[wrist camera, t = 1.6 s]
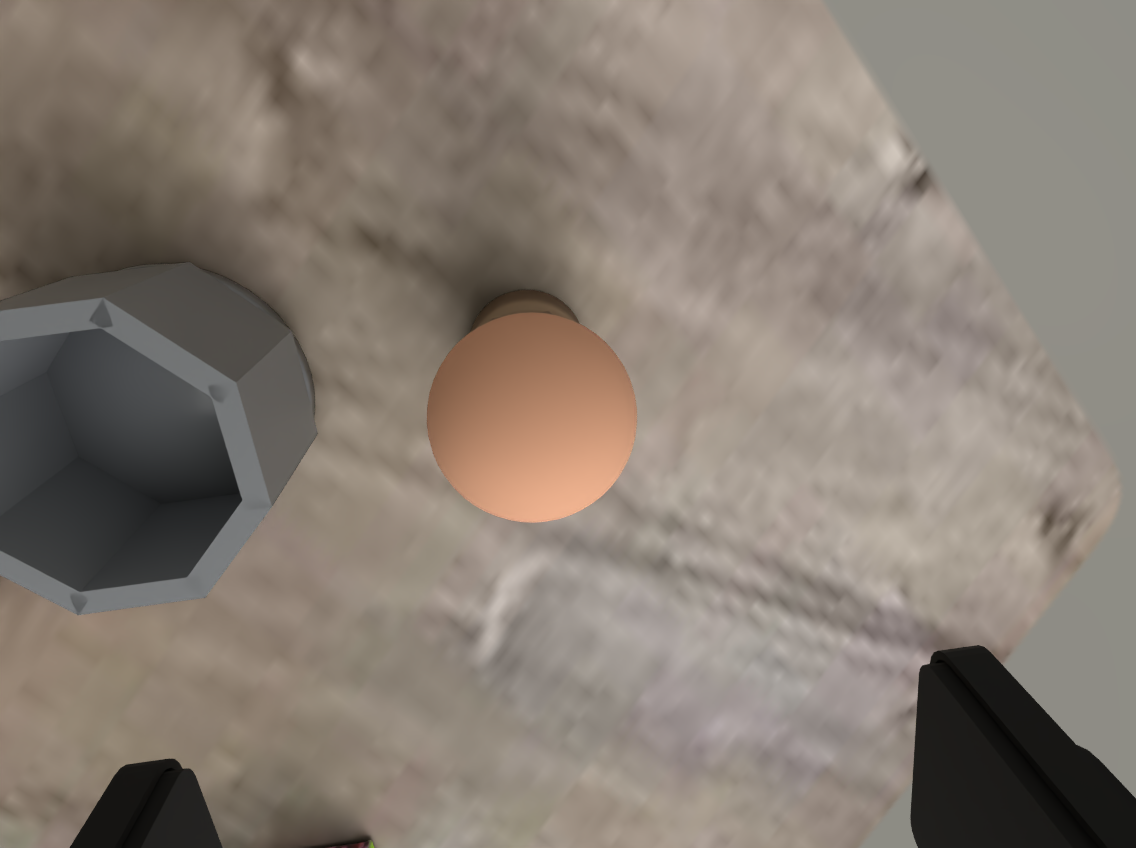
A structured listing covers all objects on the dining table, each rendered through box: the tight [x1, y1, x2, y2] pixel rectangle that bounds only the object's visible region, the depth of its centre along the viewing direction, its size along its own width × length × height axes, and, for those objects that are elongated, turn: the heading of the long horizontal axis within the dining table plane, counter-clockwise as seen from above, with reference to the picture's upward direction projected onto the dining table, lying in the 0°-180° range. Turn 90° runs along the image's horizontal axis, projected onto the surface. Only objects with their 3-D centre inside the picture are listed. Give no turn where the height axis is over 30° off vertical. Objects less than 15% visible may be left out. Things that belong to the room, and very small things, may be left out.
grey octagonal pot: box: [0, 262, 318, 615], centre depth 26 cm, size 10×10×7 cm
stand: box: [471, 290, 579, 332], centre depth 27 cm, size 4×4×5 cm
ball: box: [427, 312, 637, 522], centre depth 22 cm, size 6×6×6 cm
